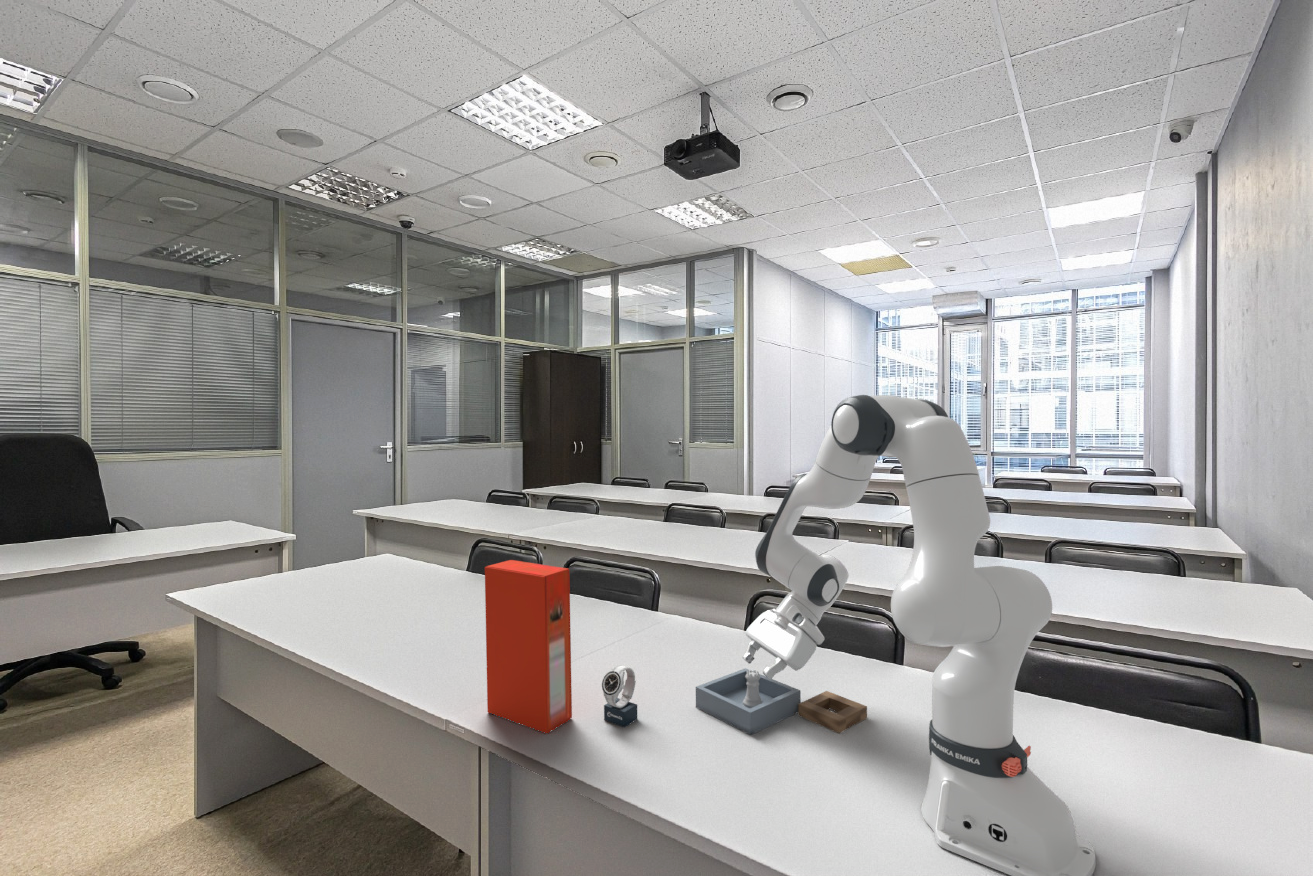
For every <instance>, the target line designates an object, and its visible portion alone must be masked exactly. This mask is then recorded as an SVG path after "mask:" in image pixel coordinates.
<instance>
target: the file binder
mask: <svg viewBox="0 0 1313 876" xmlns="http://www.w3.org/2000/svg"><path fill="white" fill-rule="evenodd" d="M570 579H571V577H570V569H569V568H568V567H567V568H566V567H561V566H553V565H547V564H540V563H534V562H527V561H521V560H516V559H515V560H514V559H509V560H505V561H501V562H497V563H493V564H490V565H486V566H485V567H484V594H485V595H484V596H485V597H484V598H485V601H484V602H485V606H484V607H485V641H486V642H485V643H486V644H485V647H486V651H485V652H486V653H485V654H486V656H485V657H486V693H487V695H486V697H487V699H486V700H487V701H486V702H487V704H486V705H487V713H488V714H490V713H492V714H495V715H497V716H496V717H498V716H500V717H499V718H501V717H503V718H502V719H504V718H506V719H509V720H511V721H510V722H512V721H514V722H513V723H515V722H516V723H515V724H518V723H520V724H523V725H525V726H524V727H526V726H527V727H526V728H529V727H531V728H530V729H532V728H534V729H535V731H537V730H539V731H538V732H540V731H542V732H541V733H543V732H545V733H544V734H546V733H548V734H549V732H550V731H551V730H553V731H554V730H556V729H557V728H556V727H558V728H559V727H560V725H561V724H562V725H564V724H565V723H567V722H569V721H570V720H571V719H572V717H573V711H572V710H573V708H572V707H573V705H572V703H573V702H572V701H573V699H572V691H573V690H572V652H571V651H572V647H571V646H572V644H571V641H572V638H571V637H572V636H571V634H572V633H571V591H570V590H571V589H570V588H571V586H570V585H571V584H570V583H571V582H570V581H571V580H570ZM492 714H491V715H492ZM495 715H494V716H495ZM506 719H505V720H506ZM509 720H508V721H509ZM568 720H569V721H568ZM563 723H564V724H563ZM520 724H519V725H520ZM523 725H522V726H523ZM562 725H561V726H562ZM555 728H556V729H555ZM534 729H533V730H534ZM551 732H552V731H551ZM551 732H550V733H551Z"/></svg>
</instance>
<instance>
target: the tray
mask: <svg viewBox="0 0 1313 876" xmlns="http://www.w3.org/2000/svg"><path fill="white" fill-rule="evenodd" d="M749 670H750V669H748V668H742V669H740V670H737V671H735V672H731V673H728V674H727V675H724V676H722V677H718V678H716V679H714V680H710V681H707V682H705V683H702V684H700V685H697V686H695V708H697V709H698V710H701V711H702V712H705V713H706V714H708V715H710V716H712V717H714V718H716V719H718V720H720V721H722V722H724V723H726V724H728V725H730V726H732V727H734V728H736V729H737V730H740V731H742V732H743V733H745V734H747V735H749V736H752V735H754V734H756V733H758V732H761V731H762V730H764V729H767V728H768V727H771V726H772V725H775V724H777V723H779V722H781V721H783V720H785V719H788V718H790V717H791V716H793V715H796V714H797V713H798V714H799V703H801V700H802V699H801V694H802V693H801V690H800V689H798V688H795V687H794V686H790V685H788V684H786V683H783V682H781V681H778V680H775V679H774V678H772V679H768V678H767V677H766V676H765V675H764V674H761V673H759V675H760V677H761V678H760V679H759V681H758V682H759V684H760V685H759V695H760V697H761V700H762V701H763V703H762V704H760V705H757V706H755V707H753V708H750V709H749V708H747V707H745V706H743V705H744V704H743V700H744V699H745V696H746V694H747V684H746V683H747V679H746V678H745V676H746V674H747V671H749ZM751 672H753V670H751Z"/></svg>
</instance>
